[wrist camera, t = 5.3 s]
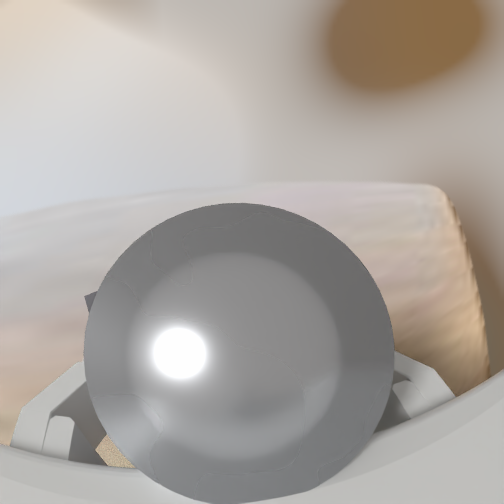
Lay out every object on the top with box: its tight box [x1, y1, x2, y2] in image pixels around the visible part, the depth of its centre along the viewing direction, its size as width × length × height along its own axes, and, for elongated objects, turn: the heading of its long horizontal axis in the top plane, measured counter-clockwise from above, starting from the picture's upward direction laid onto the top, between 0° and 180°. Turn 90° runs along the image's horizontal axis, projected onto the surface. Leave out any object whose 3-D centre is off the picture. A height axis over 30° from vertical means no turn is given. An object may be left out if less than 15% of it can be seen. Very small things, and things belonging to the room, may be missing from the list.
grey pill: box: [84, 203, 395, 504], centre depth 9 cm, size 4×4×12 cm
